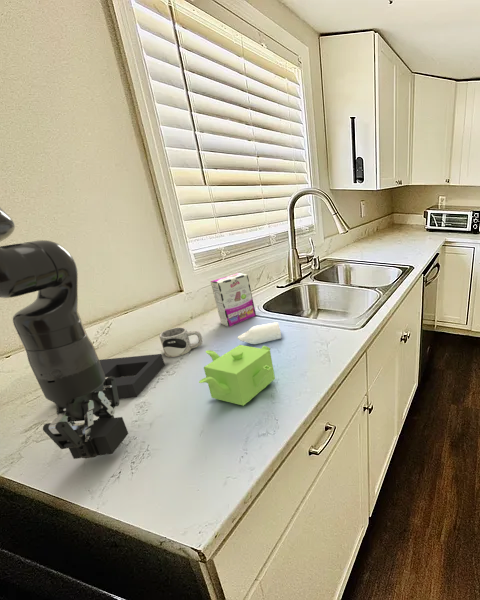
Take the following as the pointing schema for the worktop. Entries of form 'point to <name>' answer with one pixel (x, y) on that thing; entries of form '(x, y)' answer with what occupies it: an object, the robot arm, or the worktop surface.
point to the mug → (178, 341)
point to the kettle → (239, 373)
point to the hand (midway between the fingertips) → (101, 443)
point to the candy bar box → (233, 299)
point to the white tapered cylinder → (261, 333)
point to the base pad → (132, 373)
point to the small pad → (105, 435)
